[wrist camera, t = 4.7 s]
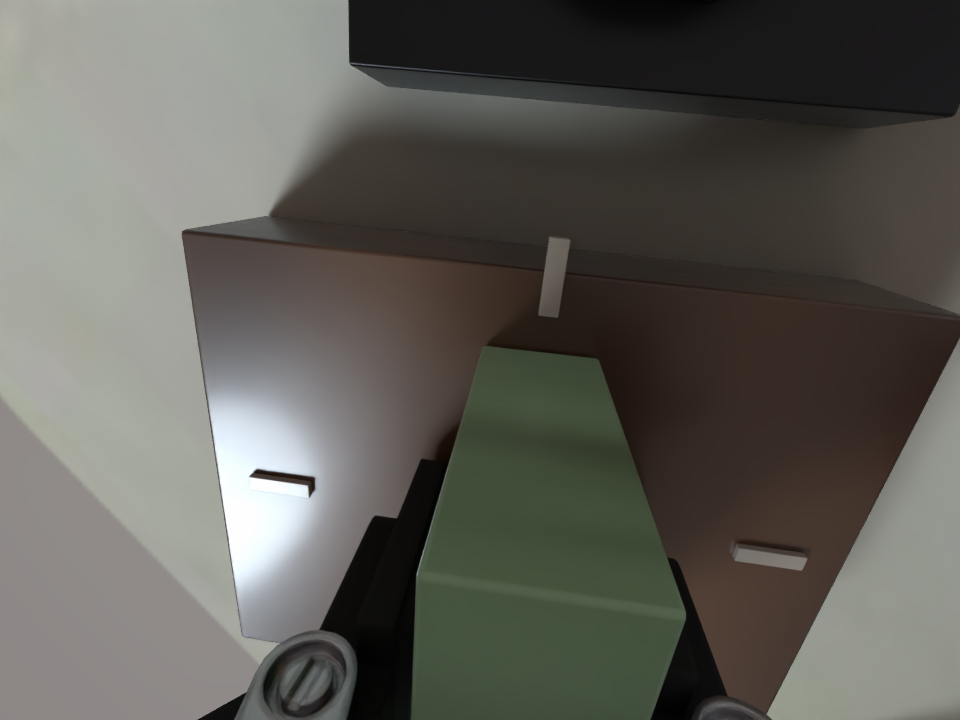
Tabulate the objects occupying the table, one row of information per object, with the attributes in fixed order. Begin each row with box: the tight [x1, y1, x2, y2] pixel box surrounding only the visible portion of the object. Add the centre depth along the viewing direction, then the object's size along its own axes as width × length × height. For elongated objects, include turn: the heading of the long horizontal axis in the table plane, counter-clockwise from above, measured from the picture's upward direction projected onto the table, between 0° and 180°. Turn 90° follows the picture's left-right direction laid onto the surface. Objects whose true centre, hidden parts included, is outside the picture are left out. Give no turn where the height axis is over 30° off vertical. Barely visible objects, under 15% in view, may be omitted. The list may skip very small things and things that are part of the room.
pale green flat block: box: [411, 346, 686, 720], centre depth 8 cm, size 8×2×6 cm, turn 175°
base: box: [182, 216, 960, 714], centre depth 12 cm, size 14×12×3 cm
